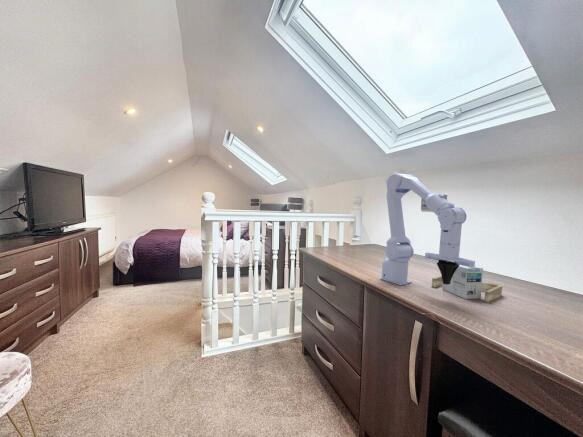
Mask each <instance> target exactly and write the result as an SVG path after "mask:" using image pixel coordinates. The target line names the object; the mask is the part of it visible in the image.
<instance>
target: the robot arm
mask: <svg viewBox="0 0 583 437" xmlns="http://www.w3.org/2000/svg"><path fill="white" fill-rule="evenodd" d="M386 190H387V191H386V201H387V202H386V203H387V204H386V205H387V212H388V220H389V230H390V237H389V238H388V239H387V241H386V247H385V255H386V256H387V257H386V258H385V259H383V261H382V266H381V278H380V280H383V281H385V282H389V283H392V284H395V285H399V286H404V285H408V284H411V283H412V280H410V279H408V274H409V261H410V259H411V258H413V257H414V247H413V246H412V244H411V240H410V239H409V238H408V237H407V236H406V230H405V221H404V214H403V213H404V212H403V206H402V205H403V204H402V198H403V197H404V196H405V195H407V194H408V193H409V192H410V191H412V192H414V194H416V195H417V196H419V197H420V198H421V199H422V200H423V201H425V203H424V205H425V206H426V207H427V208H428V209H429V210H430V211H431V212H433V214H435V215H436V216H437V220H438V222H439V224H440V226H439V227H440V237H439V247H438V248H439V250H438V253H433V252H432V253H431V252H425V254H424V259H426V260H427V259H429V260H433V261H434V260H435V261H437V262H436V266H437V267H438V270H439V272H440V274H441V275H440V276H442V280H443V284H446V285H448V284H450V282H451V279H452V276H453V274H454V273H455V271H456V270H457V268H458V267H459V265H463V266H468V267H471V268H473V267H476V261H475V260H472V259H467V258H463V257H460V249H461V248H460V247H461V237H462V226H463V224H464V223H465V222H466V221H467V213H466V211H465V210H464V208H462V207H455V204H454V203H453V202H450V201H448V200H447V199H446V198H445V195H444V194H442V193H432V191H431V190H429V188H427V186H425V185H424V183H422V182H421V181H420V180H419V178H418V177H416V176H415V175H413V174H405V173H398V172H393V173H391V174H390V175H389V176H388V178H387V179H386Z"/></svg>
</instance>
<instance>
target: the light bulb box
mask: <svg viewBox="0 0 583 437" xmlns="http://www.w3.org/2000/svg"><path fill="white" fill-rule="evenodd" d="M483 275H484V268H483V267H479V266H475V267H473V268H471V267H468V266H463V265H459V267H458V268H457V270H456V271H455V273H454V274H453V276H452V279H451V282H450V284H448V285H446V284H443V282H442V286H441V290H444V291H445V292H448V293H451V294H453V295H456V296H458V297H461V298H463V299H464V300H465V299H466V300H470V299H471V300H472V299H473V300H474V299H477V300H478V299H482V292H483V291H482V281H483V278H484V277H483Z"/></svg>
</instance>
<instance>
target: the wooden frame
mask: <svg viewBox="0 0 583 437" xmlns="http://www.w3.org/2000/svg"><path fill="white" fill-rule="evenodd" d="M442 282H443V280H442V275H439V276H435V277H432V279H431V288H433V289H435V288H438V287H442ZM481 292H484V303H487V304H490V302H493V301H494V300H497V299H498V298H500V297H502V295H503V285H499V284H495V283H492V282H486V281H483V280H482V291H481Z"/></svg>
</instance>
